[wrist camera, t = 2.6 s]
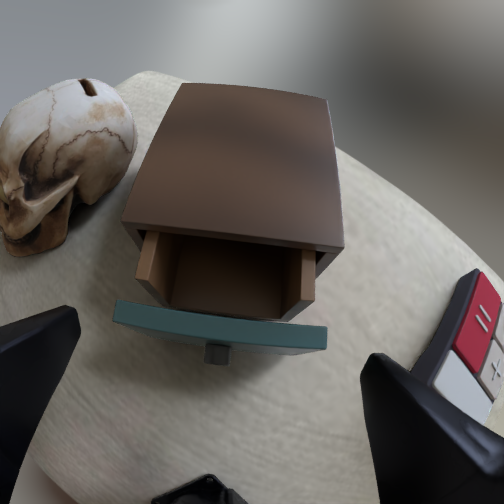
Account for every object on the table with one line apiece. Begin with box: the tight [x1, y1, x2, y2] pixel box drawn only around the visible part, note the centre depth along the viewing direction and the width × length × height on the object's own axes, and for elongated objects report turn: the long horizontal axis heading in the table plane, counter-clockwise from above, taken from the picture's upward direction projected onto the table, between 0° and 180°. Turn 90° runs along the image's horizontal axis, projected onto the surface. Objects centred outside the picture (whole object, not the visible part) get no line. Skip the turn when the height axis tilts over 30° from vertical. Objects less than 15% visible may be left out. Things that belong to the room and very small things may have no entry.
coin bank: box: [0, 78, 138, 257], centre depth 19 cm, size 16×17×13 cm
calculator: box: [411, 268, 504, 425], centre depth 19 cm, size 11×4×15 cm
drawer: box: [113, 230, 328, 366], centre depth 18 cm, size 14×11×7 cm
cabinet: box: [120, 83, 344, 279], centre depth 21 cm, size 14×12×9 cm
